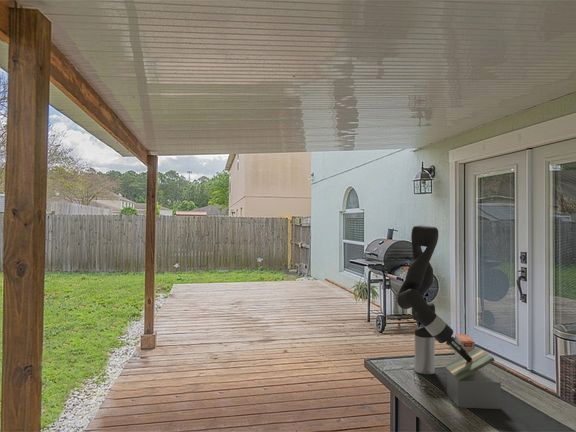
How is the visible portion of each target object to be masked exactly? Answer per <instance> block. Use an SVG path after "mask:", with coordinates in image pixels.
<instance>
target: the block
mask: <svg viewBox="0 0 576 432" xmlns="http://www.w3.org/2000/svg"><path fill="white" fill-rule="evenodd" d="M501 383H502V382H501V381H500V380H499V379H497V378H496V377H495V376H493V375H492V374H491V373H490V372H488V371H487V370H481V369H479V370H477V371H475V372H474V373H472V374H470V375H468V376H467V377H465V378H463V379H461V380H460V381H458V380H457V379H456V378H455V377H454V376H453V375H452V374H451V373H450V372H449V371H448V370H447V369H446V394H447V396H448V397H449V398H450V399H451V400H453V401H452V402H453V403H454V404H455V405H456V407H457V408H463V409H464V408H466V409H467V408H468V409H469V408H470V409H489V410H490V409H491V410H502V384H501Z"/></svg>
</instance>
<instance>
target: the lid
mask: <svg viewBox="0 0 576 432" xmlns="http://www.w3.org/2000/svg"><path fill="white" fill-rule="evenodd" d="M467 354H468V355H469V356H470V357H471V358H472V360H471V361H470V362H467V361H466V360H465V359H464V358H463V357H460V358H458V359H457V360H455V359H454V360H453V361H452V362H450V363H448V364H446V365H445V366H444V368H445V369H446V371H447V370H448V371H449V372H450V373H451V374H452V375H453V376H454V377H455V378H456V379H457V380H458V381H460V380H461V379H463V378H465V377H467V376H468V375H470V374H472V373H474V372H475V371H477V370H481V369H482V368H484V367H486V366H487V365H490V364H491V363H493V362H495V361H496V359H494V357H493V356H492V355H490V354H489V353H487V352H486V351H485V350H483V349H482V348H480V347H475V349H474V350H472V351H471V352H469V353H467Z"/></svg>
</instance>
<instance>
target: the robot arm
mask: <svg viewBox="0 0 576 432" xmlns="http://www.w3.org/2000/svg"><path fill="white" fill-rule="evenodd" d="M410 238H411V251H412V262H411V263H410V264H409V266H408V268H407V272H406V275H405V279H404V281H403V283H402V285H401V287H400V289H399V290H398V293H397V298H396V302H397V305H398V307H400V308H401V309H403V310H408V309H411V317H412V319H413V320H414V321H416V322H419V324H421V325H422V326H420V327H416V328H415V329H414V372H416V373H418V374H420V375H434V374H435V370H436V367H435V366H436V365H435V362H436V361H435V357H436V356H435V352H436V351H435V348H436V345H435V344H436V341H437V342H438V344H446V346H448V347H449V348H450V349H452V350H453V351H454V353H455V352H456V353H458V354H460V356H462V357H463V358H464V359H465V360H466V361H467V362H470V361H471V360H472V358H471V357H470V356H469V355H468V354H467V353H466V351H465V350H464V349H463V348H462V346H461V345H460V344H459V343H458V341H457V340H456V339H455V336H453V335H454V330H453V328H451V326H449V324H448V323H447V322H445V320H444V319H442V317H440V316H439V315H438V314H437V313H436V306H435V304H434V303H433V302H427V301H426V299H425V298H424V295H425V293H427V291H428V290H429V289H430V288H431V286H432V284H433V282H434V268H433V267H432V264H431V263H430V261H431V258H432V257H433V255H434V253H435V252H434V251H435V249H436V246H437V244H438V241H439V229H438V228H437V227H436V226H430V225H423V224H422V225H421V224H416V225H414V226H413V227H412V229H411V237H410ZM422 247H423V248H424V247H425V249H424V250H422Z"/></svg>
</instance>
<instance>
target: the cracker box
mask: <svg viewBox="0 0 576 432" xmlns="http://www.w3.org/2000/svg"><path fill="white" fill-rule="evenodd" d="M454 338H455V339H456V340H457V341H458V343H459V344H460V345H461V346H462V348H463V349H464V350H465V351H466V353H469V352H471V351H472V350H474V349H476V347H475V345H476V344H475V341H474V340H473V339H472V338H471V337H470V336H469V335H468V334H462V333H461V334H459V333H456V334H454ZM460 357H462V356H460V354H458V353H456V352H455V351H454V361H455V360H457V359H458V358H460Z"/></svg>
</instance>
